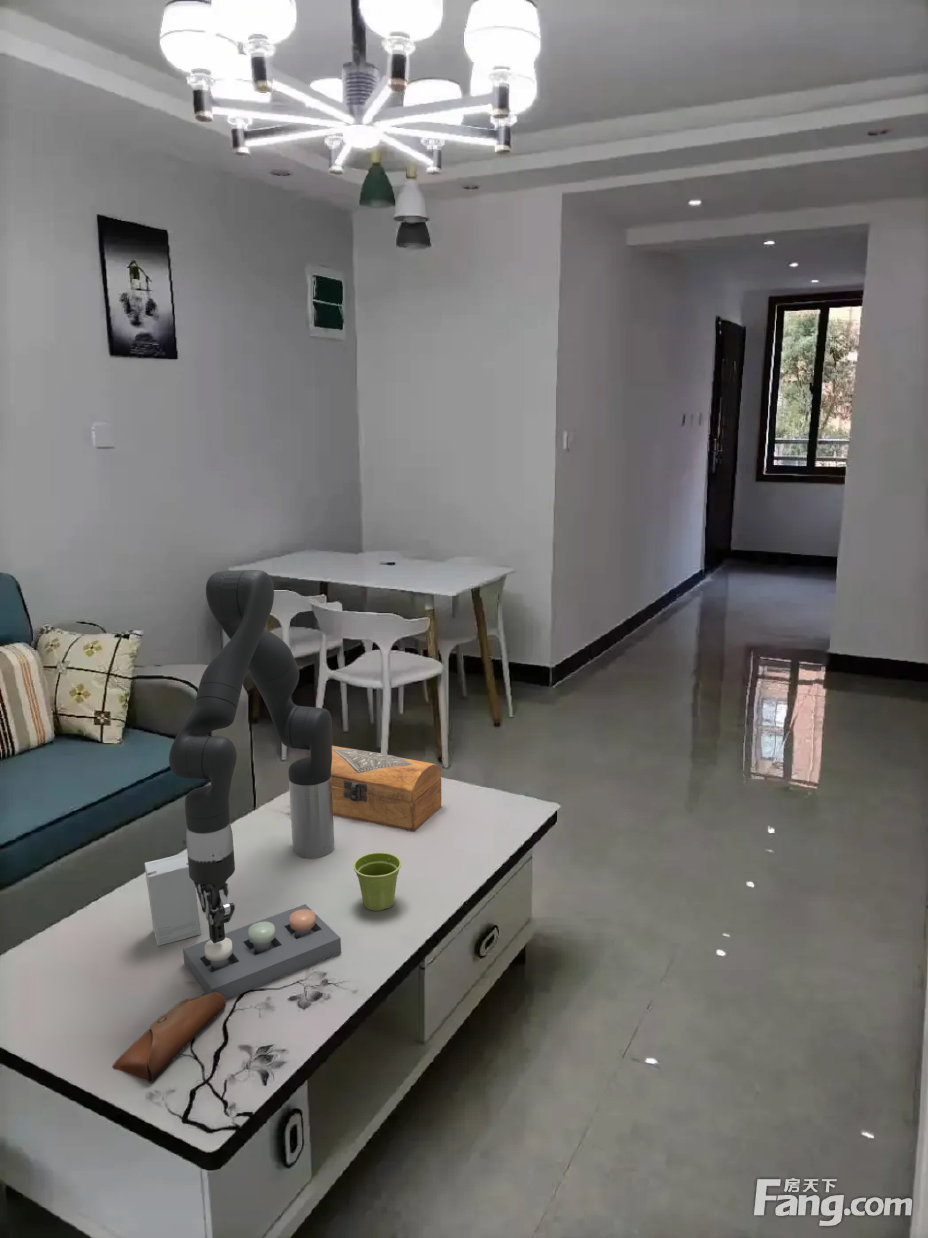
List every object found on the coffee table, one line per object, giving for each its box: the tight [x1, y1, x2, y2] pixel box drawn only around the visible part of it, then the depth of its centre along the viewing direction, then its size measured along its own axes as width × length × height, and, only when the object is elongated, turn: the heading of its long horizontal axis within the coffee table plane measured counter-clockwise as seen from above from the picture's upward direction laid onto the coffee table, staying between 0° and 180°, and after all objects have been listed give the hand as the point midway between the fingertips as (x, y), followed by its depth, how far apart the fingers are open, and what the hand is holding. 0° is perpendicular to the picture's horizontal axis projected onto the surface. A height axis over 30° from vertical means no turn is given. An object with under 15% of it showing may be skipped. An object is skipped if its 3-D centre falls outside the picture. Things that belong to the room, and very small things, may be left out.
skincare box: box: [144, 852, 202, 947], centre depth 165 cm, size 8×6×15 cm
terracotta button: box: [290, 909, 316, 939], centre depth 163 cm, size 5×5×4 cm
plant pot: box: [352, 851, 402, 912], centre depth 176 cm, size 9×9×9 cm
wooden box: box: [331, 745, 442, 832], centre depth 216 cm, size 30×16×14 cm, turn 65°
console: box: [182, 903, 342, 1001], centre depth 159 cm, size 14×24×3 cm, turn 127°
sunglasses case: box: [112, 992, 227, 1084], centre depth 139 cm, size 18×7×7 cm
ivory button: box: [205, 938, 233, 972], centre depth 154 cm, size 5×5×4 cm
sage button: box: [248, 921, 275, 955], centre depth 158 cm, size 5×5×4 cm
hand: (217, 940), depth 153 cm, fingers closed
